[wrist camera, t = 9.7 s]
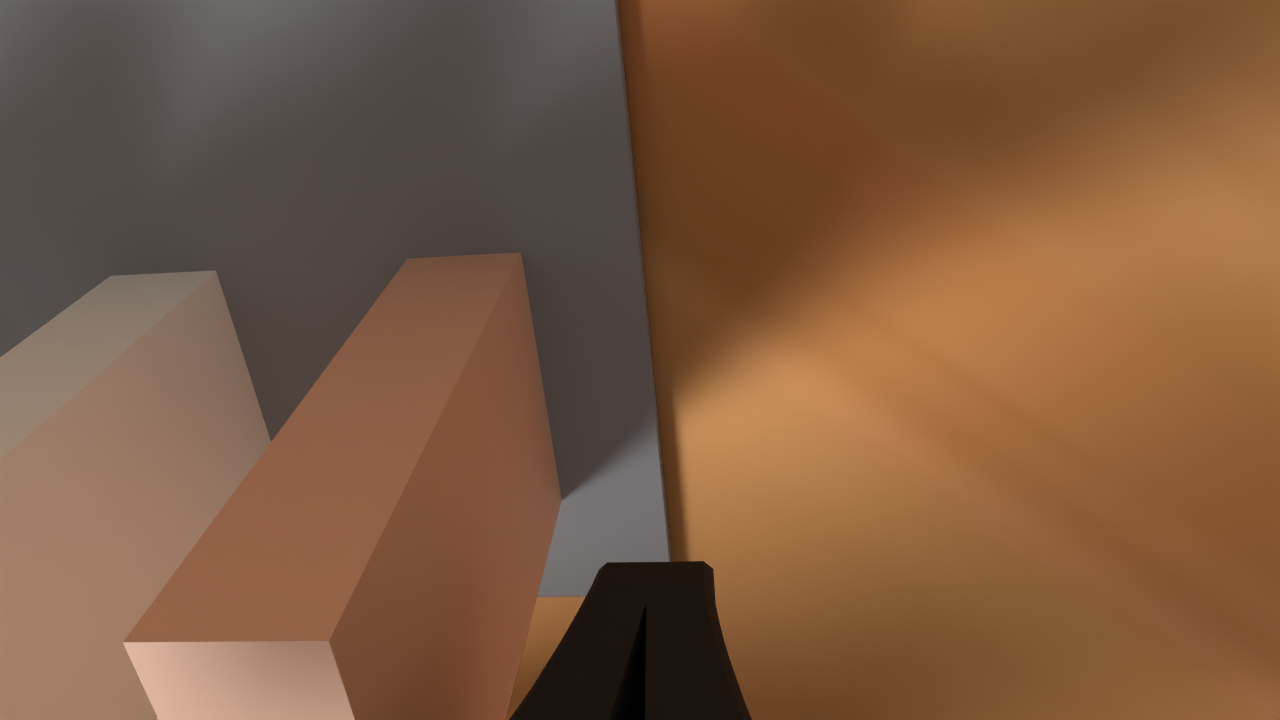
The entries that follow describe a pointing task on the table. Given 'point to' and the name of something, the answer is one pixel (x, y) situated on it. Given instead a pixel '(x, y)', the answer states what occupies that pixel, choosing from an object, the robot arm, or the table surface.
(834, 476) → the table surface
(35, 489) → the domino
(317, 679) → the domino
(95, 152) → the mat
